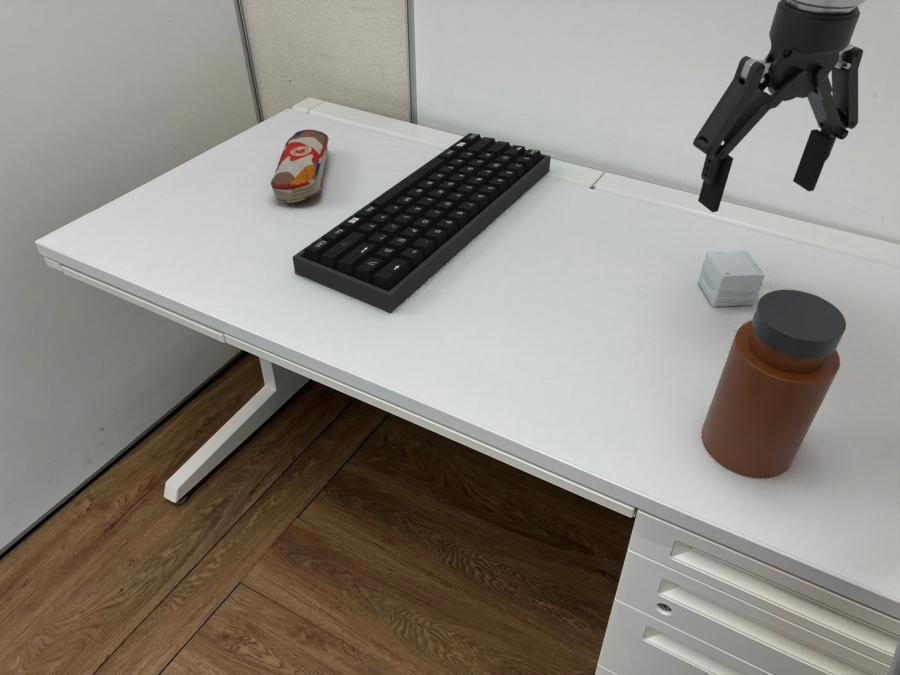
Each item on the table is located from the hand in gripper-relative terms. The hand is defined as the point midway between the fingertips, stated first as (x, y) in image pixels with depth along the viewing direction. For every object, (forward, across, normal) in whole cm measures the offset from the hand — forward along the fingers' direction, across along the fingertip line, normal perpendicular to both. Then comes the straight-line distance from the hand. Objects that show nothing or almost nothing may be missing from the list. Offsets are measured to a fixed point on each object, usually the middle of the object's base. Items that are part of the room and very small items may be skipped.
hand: (756, 196), depth 82 cm
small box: (+15, 0, 0) cm, 15 cm away
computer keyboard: (+15, +29, -31) cm, 45 cm away
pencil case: (+15, +45, -50) cm, 69 cm away
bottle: (+14, +14, +22) cm, 30 cm away
